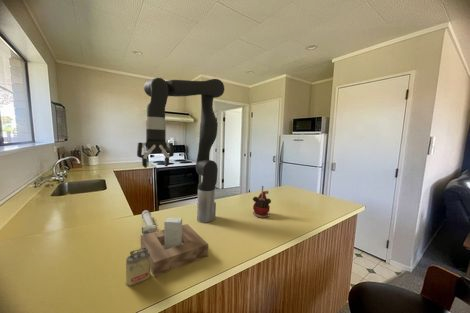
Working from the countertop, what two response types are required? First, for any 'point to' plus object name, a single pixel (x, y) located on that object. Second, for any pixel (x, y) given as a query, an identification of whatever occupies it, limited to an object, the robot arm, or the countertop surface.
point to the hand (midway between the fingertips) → (156, 166)
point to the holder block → (173, 250)
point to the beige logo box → (138, 266)
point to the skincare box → (172, 233)
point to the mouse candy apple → (261, 205)
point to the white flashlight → (148, 223)
